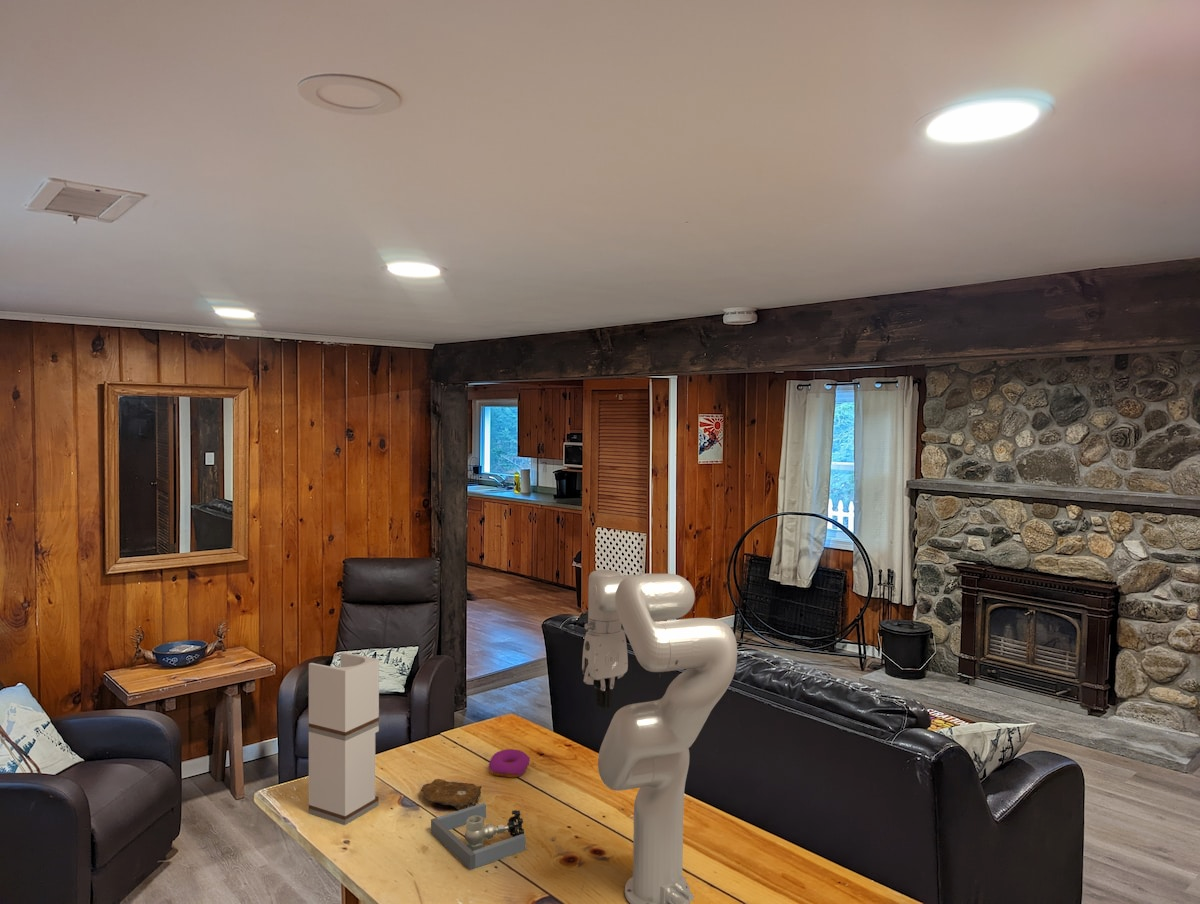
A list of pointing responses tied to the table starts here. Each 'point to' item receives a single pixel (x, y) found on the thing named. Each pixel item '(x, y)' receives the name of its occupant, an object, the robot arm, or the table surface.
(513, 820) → the valve
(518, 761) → the donut
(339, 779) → the banded square pillar
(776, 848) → the table surface
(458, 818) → the dock cradle
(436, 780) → the decorative rock
